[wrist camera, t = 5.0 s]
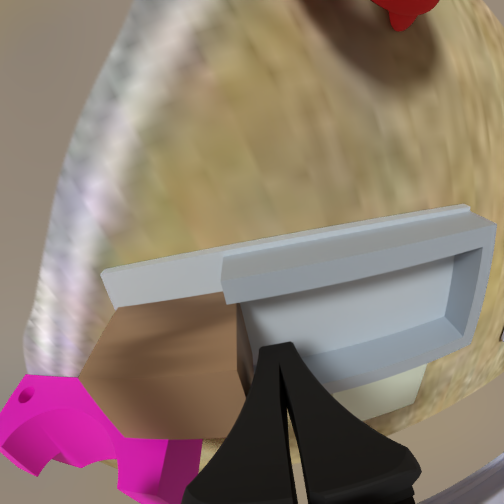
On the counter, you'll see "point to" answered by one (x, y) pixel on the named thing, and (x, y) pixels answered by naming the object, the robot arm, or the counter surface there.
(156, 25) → the counter surface
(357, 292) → the trough deck
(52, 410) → the magenta cradle bracket
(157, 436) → the walnut block
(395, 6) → the red rounded piece
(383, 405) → the sage coaster
